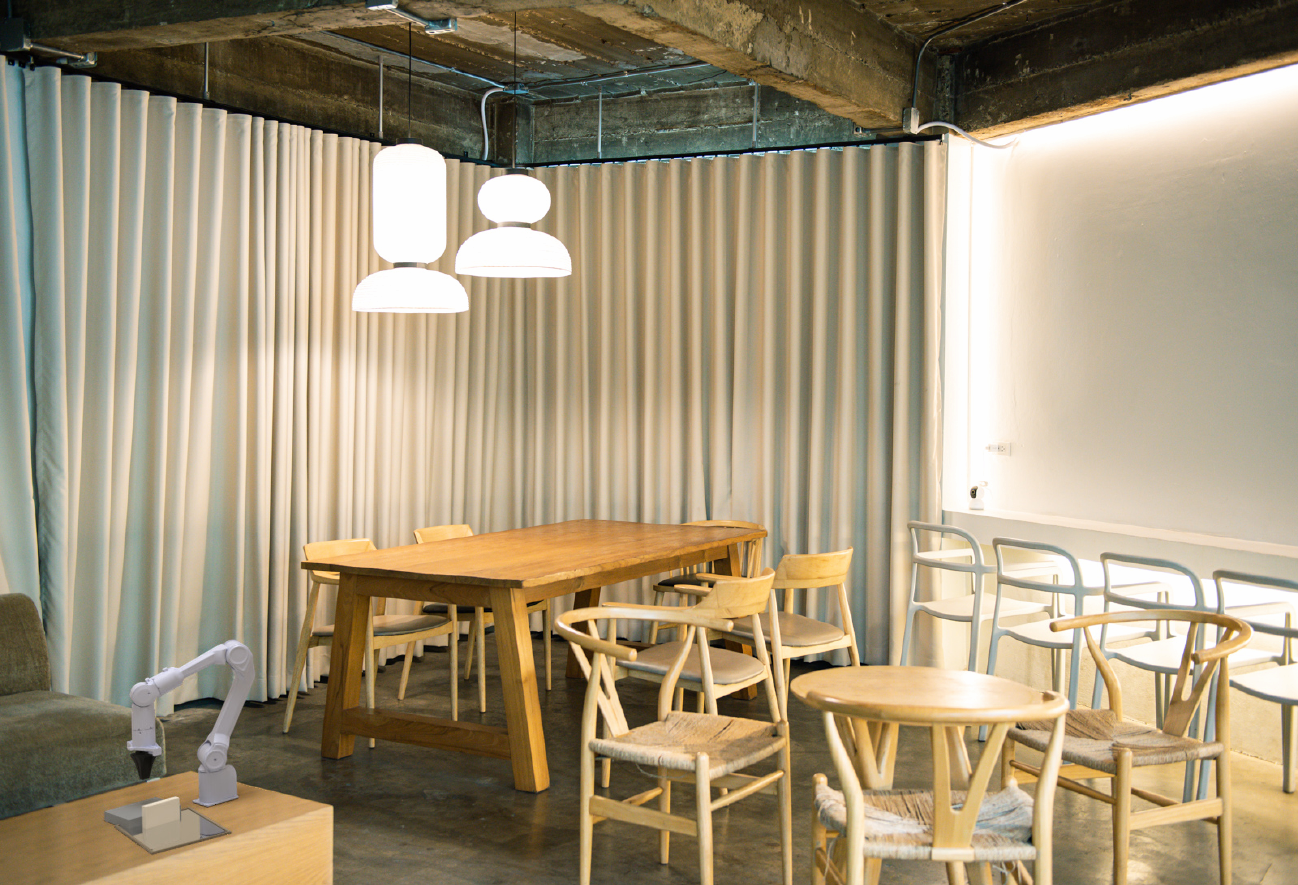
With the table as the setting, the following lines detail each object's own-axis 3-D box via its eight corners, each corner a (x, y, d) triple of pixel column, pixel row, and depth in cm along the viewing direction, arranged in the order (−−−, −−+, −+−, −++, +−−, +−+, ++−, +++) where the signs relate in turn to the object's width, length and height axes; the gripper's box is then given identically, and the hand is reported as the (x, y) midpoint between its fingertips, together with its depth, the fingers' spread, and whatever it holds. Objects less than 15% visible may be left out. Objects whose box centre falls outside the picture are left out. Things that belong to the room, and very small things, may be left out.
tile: (175, 796, 280) (179, 797, 279) (175, 819, 280) (179, 820, 279) (141, 805, 273) (145, 807, 272) (142, 829, 273) (146, 830, 272)
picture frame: (114, 829, 275) (152, 856, 254) (114, 825, 275) (152, 852, 254) (190, 810, 288) (231, 835, 268) (190, 806, 288) (231, 831, 268)
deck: (155, 805, 291) (155, 796, 291) (181, 814, 284) (180, 804, 284) (104, 820, 280) (104, 811, 280) (129, 829, 272) (128, 820, 272)
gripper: (115, 727, 286) (116, 778, 286) (142, 734, 278) (143, 786, 278) (141, 722, 292) (142, 771, 292) (168, 728, 283) (169, 779, 283)
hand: (144, 778), depth 285 cm, fingers closed
